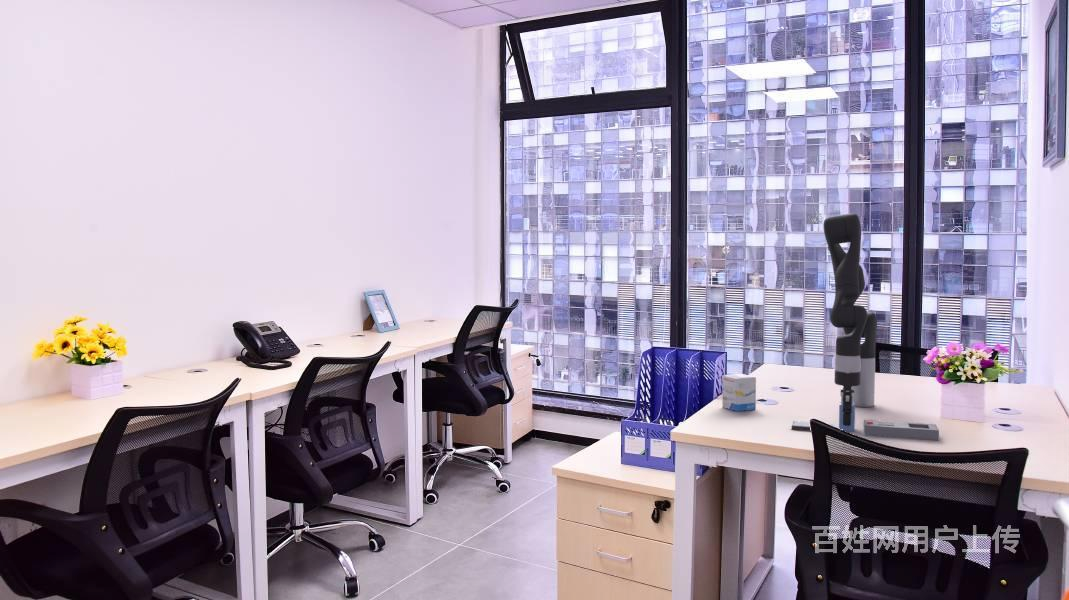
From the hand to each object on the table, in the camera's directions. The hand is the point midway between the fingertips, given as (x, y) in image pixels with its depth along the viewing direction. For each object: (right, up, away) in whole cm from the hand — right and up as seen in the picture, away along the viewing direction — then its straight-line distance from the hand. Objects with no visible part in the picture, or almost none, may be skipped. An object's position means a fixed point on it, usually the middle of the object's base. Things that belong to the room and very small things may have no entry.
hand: (846, 423), depth 243 cm
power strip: (+13, -2, -7) cm, 15 cm away
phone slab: (-10, -2, +2) cm, 10 cm away
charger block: (0, -2, 0) cm, 2 cm away
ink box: (-25, 0, +32) cm, 41 cm away
